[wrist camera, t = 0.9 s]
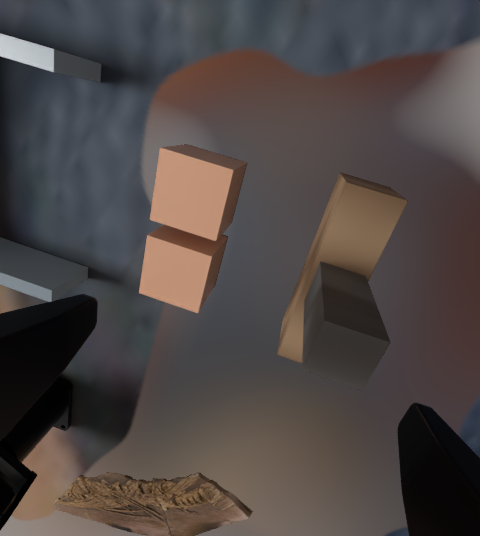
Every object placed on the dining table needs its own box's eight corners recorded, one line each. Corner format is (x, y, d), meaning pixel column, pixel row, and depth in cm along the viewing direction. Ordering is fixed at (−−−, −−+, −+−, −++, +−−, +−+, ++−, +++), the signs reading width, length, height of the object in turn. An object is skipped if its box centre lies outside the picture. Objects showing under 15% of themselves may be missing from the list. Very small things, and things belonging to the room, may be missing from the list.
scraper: (321, 334, 24) (328, 459, 15) (282, 320, 24) (265, 436, 15) (389, 187, 19) (460, 239, 10) (340, 172, 19) (365, 210, 10)
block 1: (231, 222, 22) (216, 241, 18) (176, 204, 22) (149, 219, 19) (247, 162, 20) (233, 170, 17) (186, 144, 20) (160, 147, 17)
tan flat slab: (236, 470, 32) (234, 480, 31) (262, 541, 35) (260, 552, 34) (31, 465, 39) (24, 474, 38) (70, 525, 42) (65, 534, 42)
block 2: (215, 285, 24) (197, 313, 20) (164, 268, 24) (138, 292, 21) (228, 236, 22) (212, 256, 19) (173, 218, 23) (147, 235, 19)
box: (87, 278, 26) (51, 302, 22) (-30, 237, 27) (-83, 254, 23) (101, 63, 19) (53, 49, 16) (-54, 18, 20) (-133, -6, 17)
